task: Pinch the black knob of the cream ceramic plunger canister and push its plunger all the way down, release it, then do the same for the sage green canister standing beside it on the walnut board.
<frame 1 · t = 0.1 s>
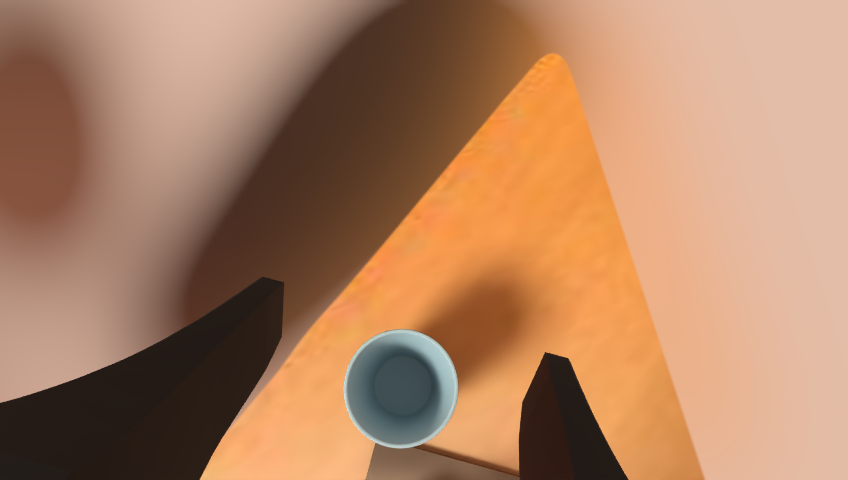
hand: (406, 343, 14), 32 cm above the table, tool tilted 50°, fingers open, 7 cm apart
cup: (403, 385, 44), on the table
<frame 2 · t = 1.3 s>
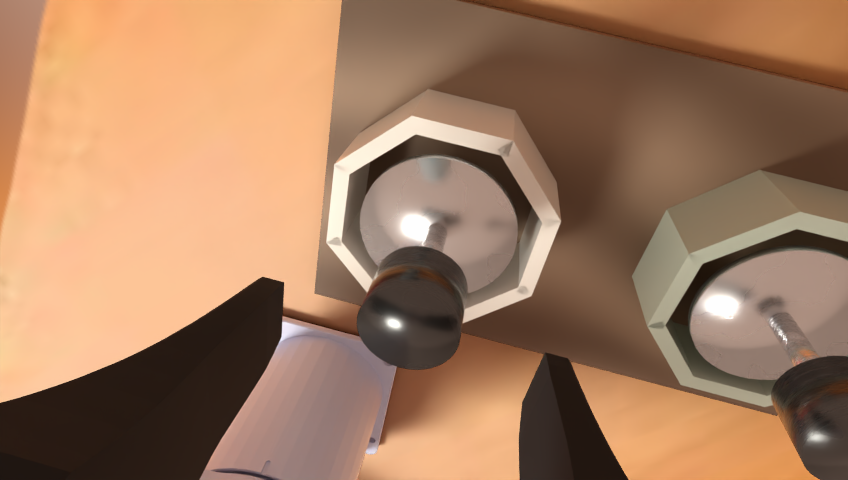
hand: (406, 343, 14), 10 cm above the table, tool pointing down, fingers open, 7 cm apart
board: (594, 223, 22), on the table
plunger a: (425, 271, 17), point 7 cm above the table, slide at 0.0 cm
plunger b: (813, 372, 17), point 7 cm above the table, slide at 0.0 cm
housing b: (741, 261, 22), resting on board
housing a: (450, 187, 23), resting on board
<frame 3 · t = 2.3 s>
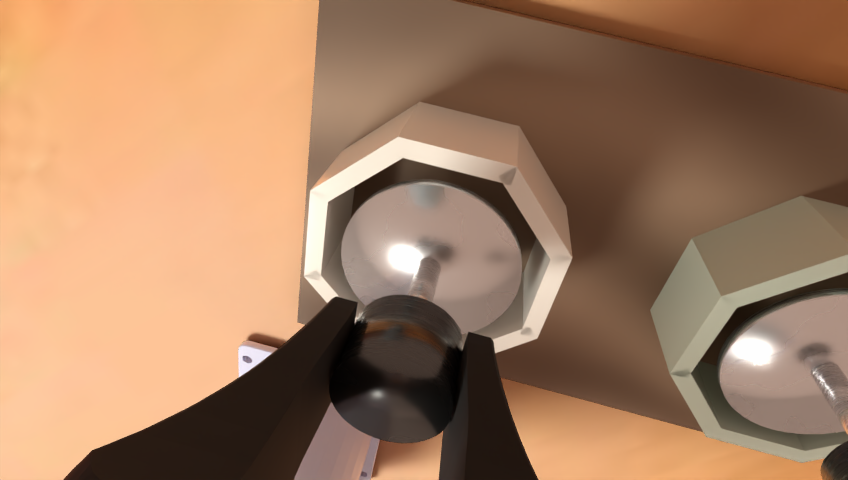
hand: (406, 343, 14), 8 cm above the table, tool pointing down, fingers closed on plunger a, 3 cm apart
board: (607, 251, 20), on the table
plunger a: (413, 319, 15), point 7 cm above the table, slide at 0.0 cm, touching gripper
housing b: (774, 294, 20), resting on board
housing a: (445, 210, 20), resting on board
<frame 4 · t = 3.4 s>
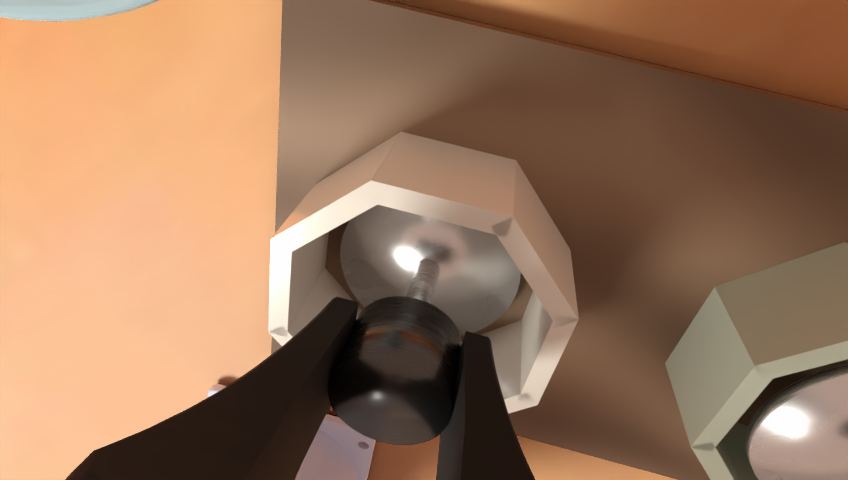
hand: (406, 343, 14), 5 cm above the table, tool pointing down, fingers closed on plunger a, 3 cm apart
board: (617, 297, 17), on the table
plunger a: (412, 320, 15), point 4 cm above the table, slide at 2.8 cm, touching gripper
housing b: (807, 347, 17), resting on board
housing a: (433, 250, 18), resting on board
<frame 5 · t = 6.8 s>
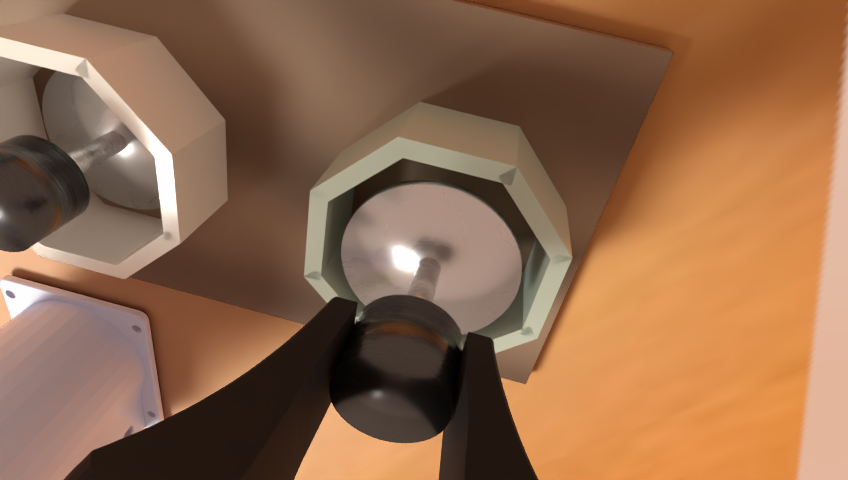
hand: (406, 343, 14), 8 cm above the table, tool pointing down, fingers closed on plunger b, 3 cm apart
board: (288, 170, 20), on the table
plunger a: (65, 168, 18), point 4 cm above the table, slide at 2.8 cm
plunger b: (413, 319, 15), point 7 cm above the table, slide at 0.0 cm, touching gripper
housing b: (445, 210, 20), resting on board
housing a: (135, 130, 21), resting on board
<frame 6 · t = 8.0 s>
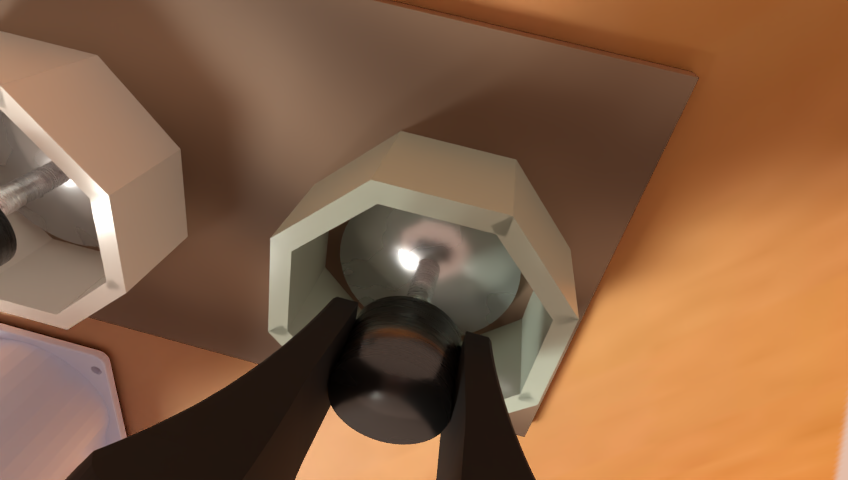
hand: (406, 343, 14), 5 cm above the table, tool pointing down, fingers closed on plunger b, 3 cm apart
board: (255, 203, 18), on the table
plunger b: (412, 320, 15), point 4 cm above the table, slide at 2.8 cm, touching gripper
housing b: (433, 249, 18), resting on board
housing a: (83, 158, 18), resting on board
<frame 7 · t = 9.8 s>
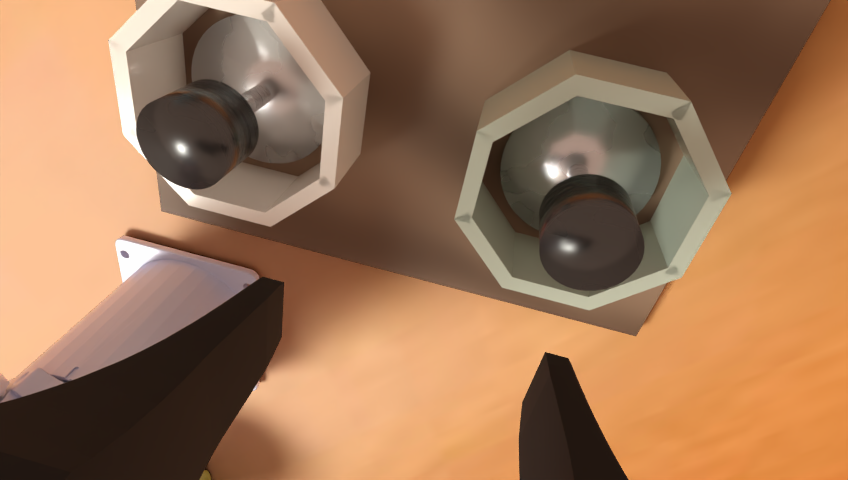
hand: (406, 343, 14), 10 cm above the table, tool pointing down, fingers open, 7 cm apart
board: (422, 123, 21), on the table
plunger a: (229, 115, 18), point 4 cm above the table, slide at 2.8 cm
plunger b: (582, 204, 18), point 4 cm above the table, slide at 2.8 cm
housing b: (575, 161, 21), resting on board
housing a: (273, 86, 22), resting on board
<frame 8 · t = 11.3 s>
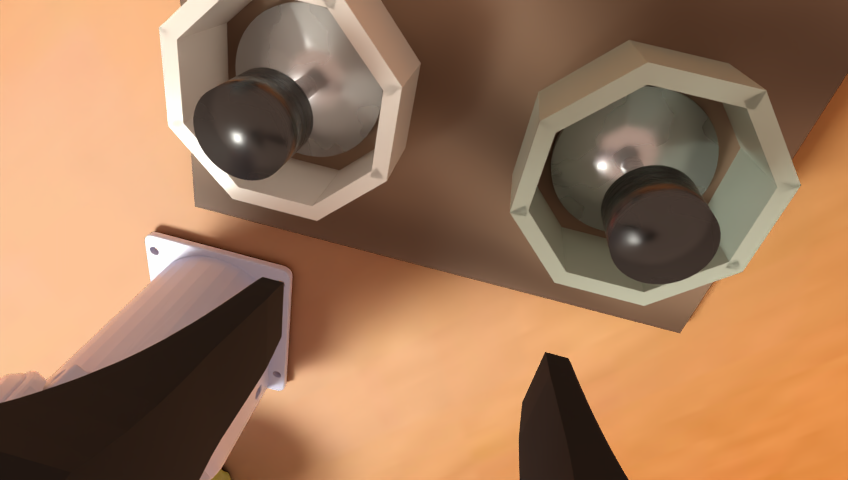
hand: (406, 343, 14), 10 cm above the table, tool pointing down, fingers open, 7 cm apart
board: (470, 115, 21), on the table
plunger a: (280, 105, 18), point 4 cm above the table, slide at 2.8 cm
plunger b: (644, 196, 17), point 4 cm above the table, slide at 2.8 cm
housing b: (626, 154, 21), resting on board
housing a: (317, 78, 21), resting on board
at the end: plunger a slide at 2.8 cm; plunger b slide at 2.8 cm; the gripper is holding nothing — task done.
